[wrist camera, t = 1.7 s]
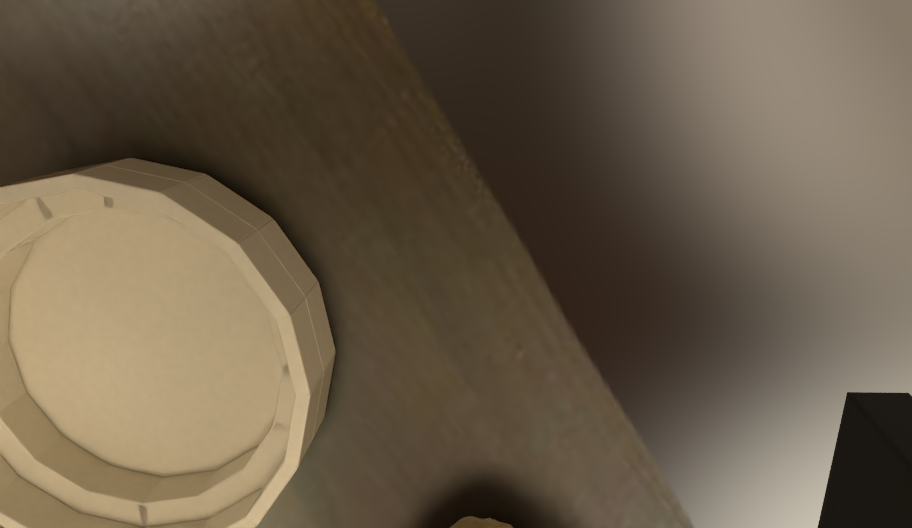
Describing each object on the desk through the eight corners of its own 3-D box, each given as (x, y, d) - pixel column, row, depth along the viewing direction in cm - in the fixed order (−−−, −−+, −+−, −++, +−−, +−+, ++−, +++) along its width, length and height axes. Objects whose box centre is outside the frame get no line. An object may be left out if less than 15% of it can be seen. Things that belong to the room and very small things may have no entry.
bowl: (-71, 195, 34) (-168, 219, 29) (286, 126, 32) (245, 140, 27) (47, 520, 38) (-21, 588, 33) (370, 476, 36) (348, 542, 31)
